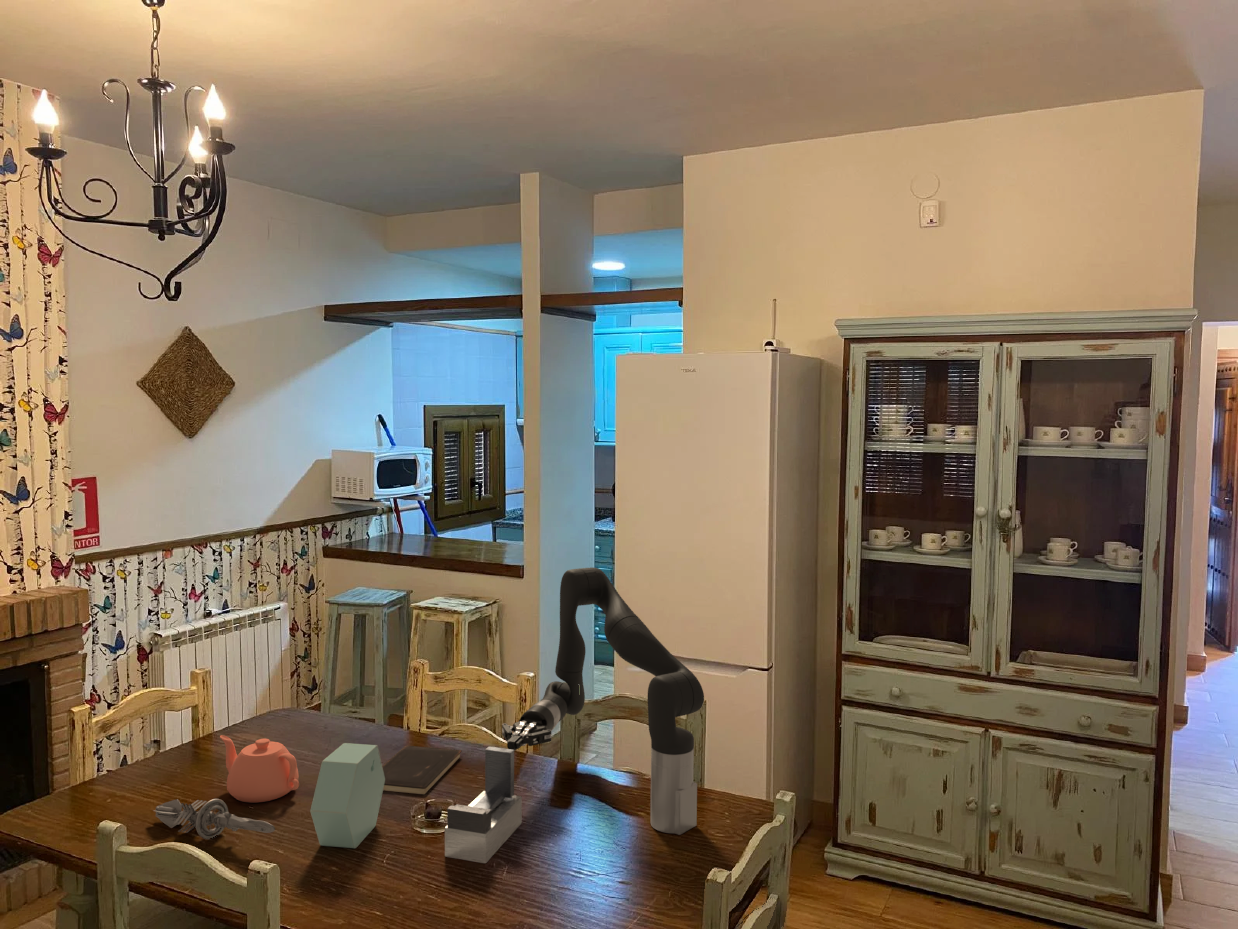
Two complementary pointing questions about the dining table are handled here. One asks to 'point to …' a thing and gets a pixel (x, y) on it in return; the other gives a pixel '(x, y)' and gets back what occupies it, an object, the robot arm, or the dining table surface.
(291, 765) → the teapot
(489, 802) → the dark grey tapered block
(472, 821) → the white rectangular holder
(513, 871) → the dining table surface
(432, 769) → the hardcover book
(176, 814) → the spaceship
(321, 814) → the mint hexagonal prism
